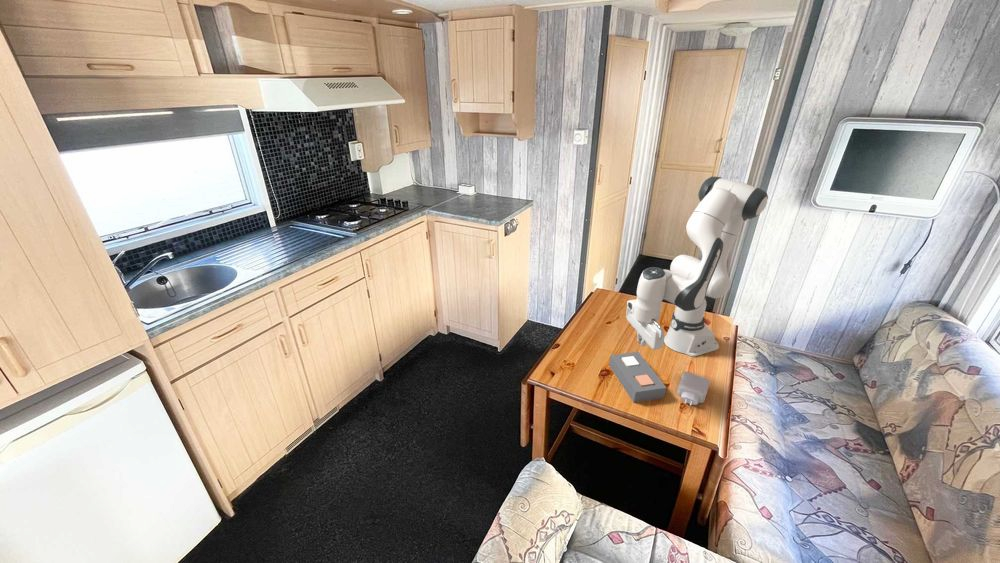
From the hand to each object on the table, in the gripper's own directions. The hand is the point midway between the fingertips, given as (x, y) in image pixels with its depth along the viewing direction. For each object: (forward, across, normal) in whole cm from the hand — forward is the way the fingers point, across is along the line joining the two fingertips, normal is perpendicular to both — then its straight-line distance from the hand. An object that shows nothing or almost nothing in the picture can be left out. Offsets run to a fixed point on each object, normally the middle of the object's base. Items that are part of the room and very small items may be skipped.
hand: (641, 343), depth 146 cm
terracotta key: (+15, -6, 0) cm, 16 cm away
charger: (+18, -12, -16) cm, 27 cm away
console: (+18, 0, 0) cm, 18 cm away
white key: (+15, +5, 0) cm, 16 cm away
